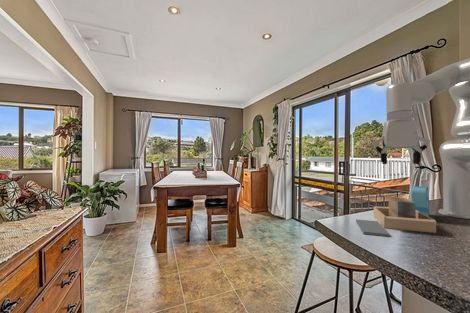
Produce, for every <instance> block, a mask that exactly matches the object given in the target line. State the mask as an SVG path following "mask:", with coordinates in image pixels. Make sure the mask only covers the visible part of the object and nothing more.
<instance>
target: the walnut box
mask: <svg viewBox="0 0 470 313" xmlns="http://www.w3.org/2000/svg"><path fill="white" fill-rule="evenodd" d="M388 207H389V217H402V218H416V211H415V202H412V201H411V200H410V199H408V198H406V197H403V196H401V197H400V196H388Z"/></svg>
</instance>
